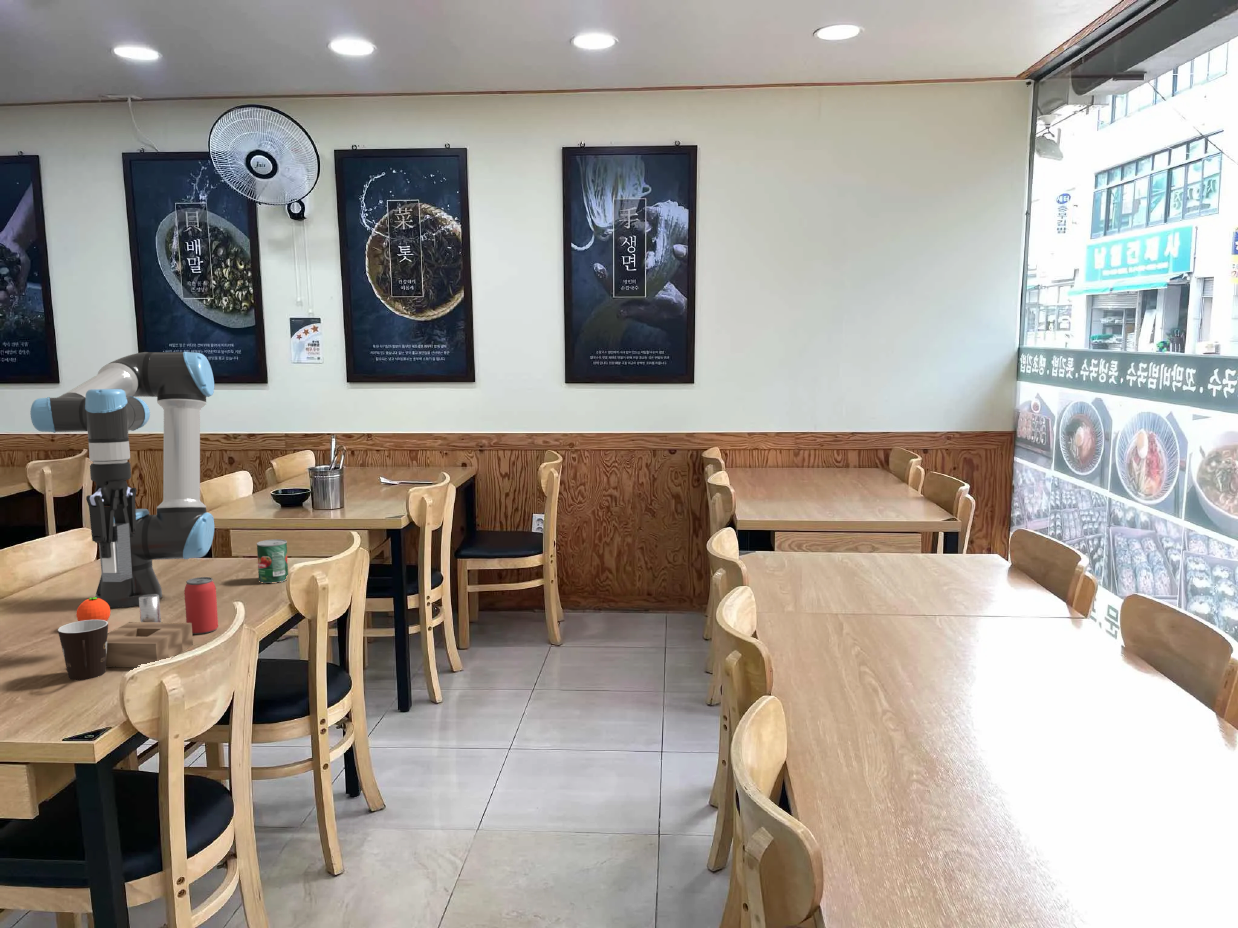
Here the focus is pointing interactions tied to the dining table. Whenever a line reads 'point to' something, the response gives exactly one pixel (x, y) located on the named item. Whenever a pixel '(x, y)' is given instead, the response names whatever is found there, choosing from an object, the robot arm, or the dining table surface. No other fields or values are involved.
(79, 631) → the coffee mug
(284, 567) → the canned tomato
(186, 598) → the beer can
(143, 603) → the cylinder
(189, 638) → the socket block
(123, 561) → the square bit
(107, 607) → the clementine
